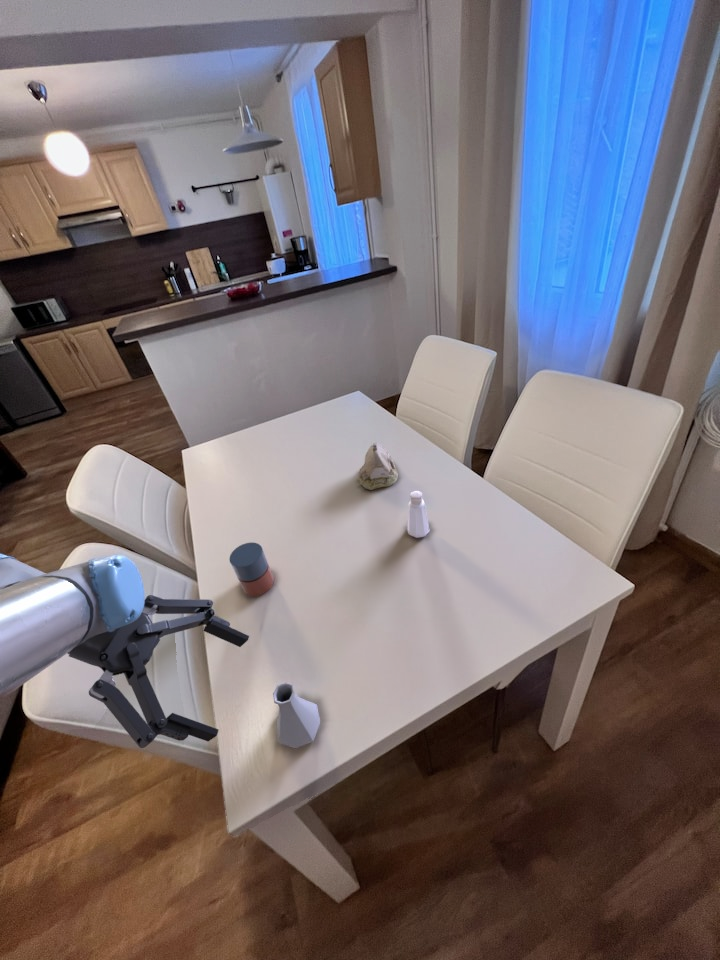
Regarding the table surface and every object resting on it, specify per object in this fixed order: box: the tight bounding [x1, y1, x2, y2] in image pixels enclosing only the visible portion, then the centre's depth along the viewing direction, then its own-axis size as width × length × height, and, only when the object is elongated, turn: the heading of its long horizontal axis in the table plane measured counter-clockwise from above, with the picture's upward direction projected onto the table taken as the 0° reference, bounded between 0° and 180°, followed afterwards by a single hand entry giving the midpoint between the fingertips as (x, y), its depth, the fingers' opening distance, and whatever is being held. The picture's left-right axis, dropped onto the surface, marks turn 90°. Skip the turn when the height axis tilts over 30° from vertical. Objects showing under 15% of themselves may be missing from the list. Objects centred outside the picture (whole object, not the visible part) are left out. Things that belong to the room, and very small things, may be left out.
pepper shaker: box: [406, 490, 431, 539], centre depth 93 cm, size 5×5×11 cm
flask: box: [272, 682, 322, 749], centre depth 62 cm, size 7×7×10 cm
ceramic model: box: [358, 442, 399, 491], centre depth 114 cm, size 14×11×10 cm
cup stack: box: [229, 542, 275, 597], centre depth 87 cm, size 7×7×9 cm
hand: (230, 684), depth 59 cm, fingers open, 13 cm apart
